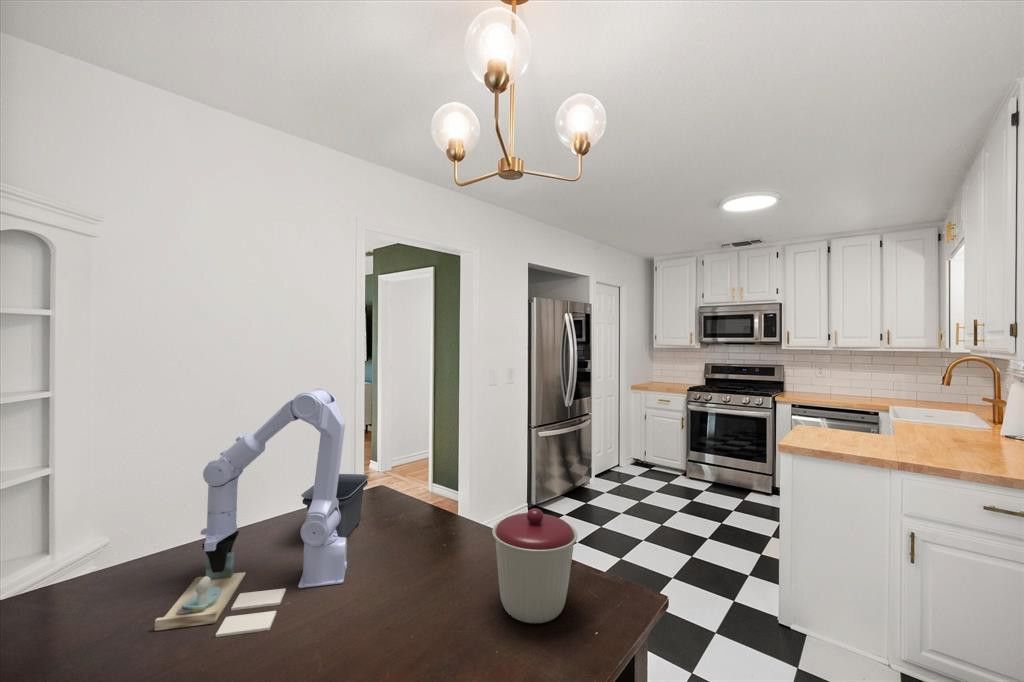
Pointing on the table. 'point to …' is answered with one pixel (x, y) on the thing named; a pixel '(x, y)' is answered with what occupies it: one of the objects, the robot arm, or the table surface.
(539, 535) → the canister
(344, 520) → the storage bin
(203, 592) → the pacifier
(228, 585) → the wooden board
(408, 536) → the table surface
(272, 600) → the broken strip
